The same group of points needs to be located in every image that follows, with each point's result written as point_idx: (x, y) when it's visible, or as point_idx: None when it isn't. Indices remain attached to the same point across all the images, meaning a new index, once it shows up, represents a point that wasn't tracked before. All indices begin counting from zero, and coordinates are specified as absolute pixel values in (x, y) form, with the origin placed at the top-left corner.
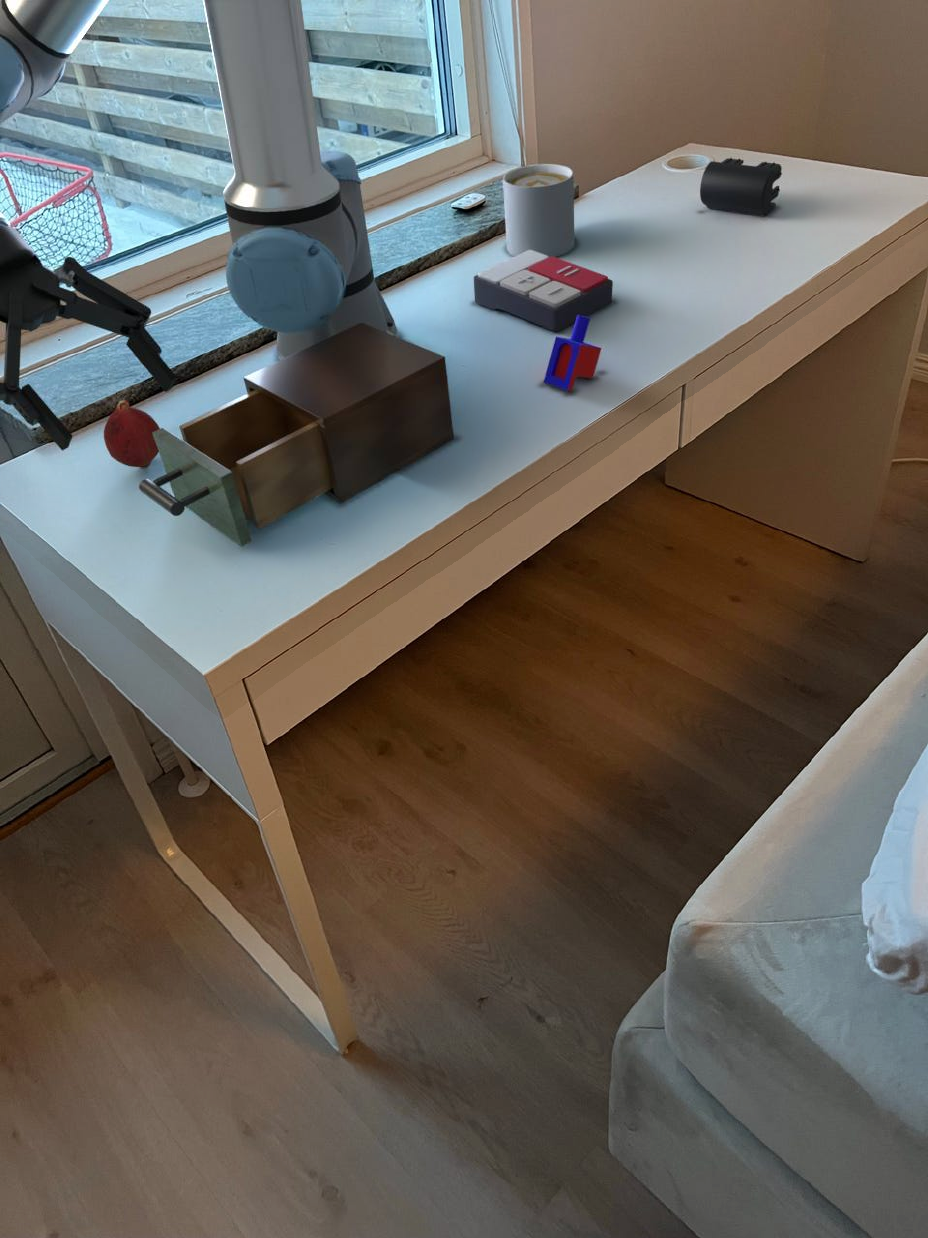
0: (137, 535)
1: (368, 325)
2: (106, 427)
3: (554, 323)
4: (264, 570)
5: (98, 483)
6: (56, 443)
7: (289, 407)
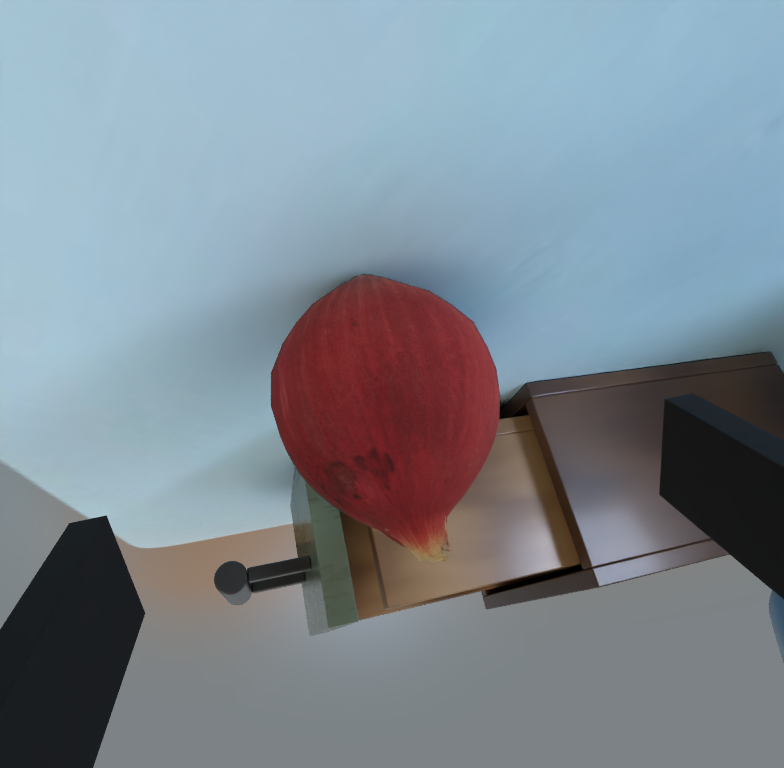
0: (170, 442)
1: None
2: (321, 477)
3: None
4: (285, 503)
5: (171, 263)
6: (53, 552)
7: (517, 588)
